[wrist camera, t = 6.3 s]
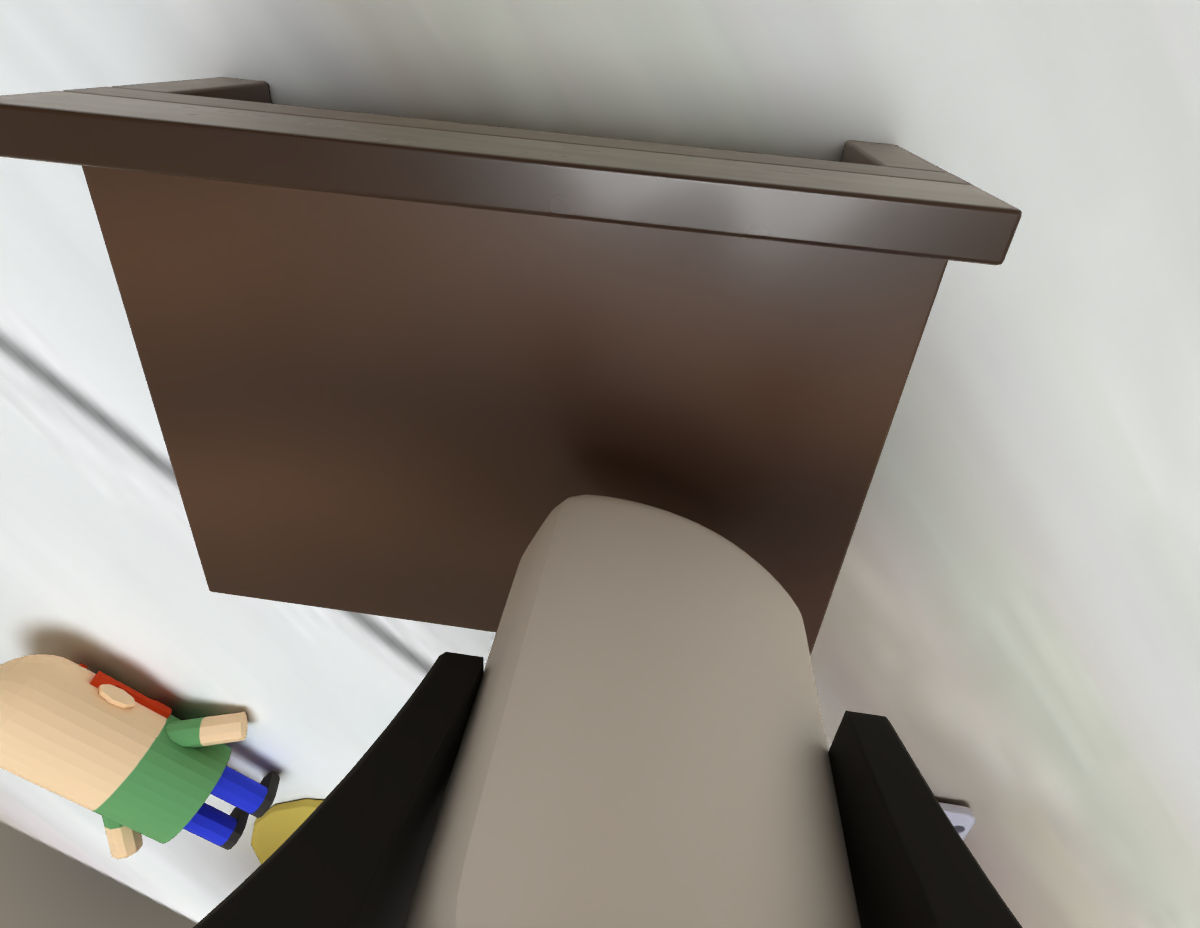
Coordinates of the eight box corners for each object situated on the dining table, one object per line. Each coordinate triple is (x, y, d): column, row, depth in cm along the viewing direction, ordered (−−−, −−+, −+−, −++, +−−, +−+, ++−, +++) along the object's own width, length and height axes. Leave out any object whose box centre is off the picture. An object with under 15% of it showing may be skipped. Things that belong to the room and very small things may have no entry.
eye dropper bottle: (639, 696, 16) (545, 1877, 6) (496, 520, 14) (-84, 1957, 3) (822, 637, 14) (1145, 2137, 4) (693, 427, 12) (704, 2586, 2)
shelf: (782, 554, 22) (815, 744, 16) (298, 489, 23) (160, 647, 17) (899, 145, 16) (1025, 211, 10) (220, 76, 16) (-45, 98, 11)
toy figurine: (321, 720, 33) (79, 576, 28) (307, 788, 29) (21, 632, 24) (204, 841, 33) (-54, 717, 28) (174, 927, 29) (-135, 797, 24)
